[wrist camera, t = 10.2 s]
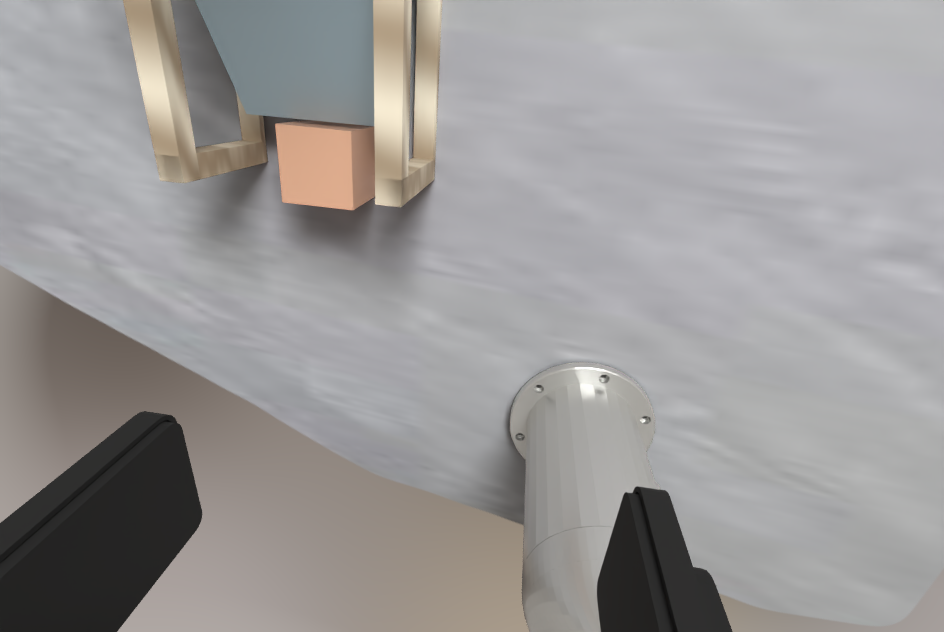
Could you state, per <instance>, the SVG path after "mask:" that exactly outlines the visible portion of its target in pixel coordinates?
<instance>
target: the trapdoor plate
mask: <svg viewBox="0 0 944 632" xmlns="http://www.w3.org/2000/svg"><path fill="white" fill-rule="evenodd" d="M195 2H196V4H197V6H198V8H199V10H200V13H201V15H202V17H203V19H204V21H205V24H206V26H207V28H208V30H209V32H210V35H211V37H212V39H213V41H214V43H215V46H216V48H217V50H218V52H219V54H220V57H221V59H222V61H223V63H224V65H225V68H226V70H227V72H228V74H229V76H230V79H231V81H232V83H233V85H234V87H235V90H236V92H237V94H238V96H239V99H240V101H241V103H242V105H243V107H244V110H245V112H246V114H252V115H262V116H272V117H283V118H293V119H303V120H314V121H324V122H334V123H344V124H355V125H365V126H374V36H373V0H195Z"/></svg>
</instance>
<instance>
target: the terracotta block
mask: <svg viewBox="0 0 944 632" xmlns="http://www.w3.org/2000/svg"><path fill="white" fill-rule="evenodd" d="M275 128H276V139H277V150H278V160H279V171H280V182H281V192H282V202H284V203H293V204H302V205H311V206H320V207H328V208H337V209H346V210H355V209H356V208H358V207H359V206H361V205H363V204H364V203H366V202H367V201H369V200H371V199H372V198H374V197H375V133H374V126H365V125H355V124H344V123H334V122H324V121H314V120H304V121H295V122H286V123H276V124H275Z"/></svg>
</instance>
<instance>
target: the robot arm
mask: <svg viewBox="0 0 944 632" xmlns="http://www.w3.org/2000/svg"><path fill="white" fill-rule="evenodd" d="M510 433H511V437H512V440H513V442H514V444H515V447H516V449H517V450H518V452H519V453H520V454H521V456H522V457H523V458H524V459H525V460H526V477H525V509H524V541H523V543H524V544H523V573H522V604H523V609H524V616H525V619H526V622H527V625H528V628H529V631H530V632H732V629H731V626H730V624H729V621H728V618H727V615H726V613H725V610H724V607H723V604H722V602H721V599H720V596H719V593H718V591H717V588H716V585H715V583H714V581H713V579H712V577H711V575H710V574H709V573H708V572H707V570H704V569H701V568H695V567H693V566H692V563H691V560H690V556H689V553H688V550H687V547H686V544H685V541H684V538H683V535H682V532H681V529H680V526H679V523H678V520H677V517H676V514H675V511H674V508H673V505H672V502H671V499H670V496H669V494H668V492H667V491H665V490H660V486H659V485H658V484H657V483H656V482H655V480H654V476H653V473H652V470H651V466H650V463H649V460H648V457H647V453H646V452H647V450H648V449H649V447H650V445H651V443H652V440H653V437H654V434H655V417H654V412H653V408H652V406H651V403H650V401H649V398H648V397H647V395H646V394H645V392H644V390H643V389H642V388H641V387H640V386H639V385H638V384H637V383H636V382H635V381H634V380H633V379H632V378H630V377H629V376H627V375H626V374H624V373H623V372H621V371H619V370H616V369H614V368H612V367H609V366H605V365H601V364H597V363H587V362H577V363H566V364H562V365H558V366H554V367H552V368H549V369H547V370H545V371H543V372H541V373H539V374H538V375H536V376H535V377H533V378H532V379H530V380H529V381H528V382H527V383H526V384H525V385H524V386H523V387H522V388H521V390H520V391H519V393H518V394H517V396H516V397H515V400H514V402H513V405H512V408H511V415H510ZM201 518H202V509H201V505H200V502H199V497H198V493H197V488H196V485H195V480H194V476H193V472H192V468H191V463H190V459H189V456H188V451H187V447H186V443H185V438H184V434H183V430H182V427H181V425H180V424H178V423H177V421H176V419H175V418H174V417H173V416H171V415H166V414H159V413H153V412H146V411H144V412H140V413H138V414H137V415H135V416H134V417H133V418H132V419H130V420H129V421H128V422H126V423H125V424H124V425H123V426H121V427H120V428H119V429H118V430H116V431H115V432H114V433H113V434H111V435H110V436H109V437H107V438H106V439H105V440H104V441H103V442H101V443H100V444H99V445H98V446H96V447H95V448H94V449H92V450H91V451H90V452H89V453H88V454H86V455H85V456H84V457H82V458H81V459H80V460H79V461H78V462H77V463H75V464H74V465H72V466H71V467H70V468H69V469H67V470H66V471H65V472H64V473H63V474H61V475H60V476H59V477H58V478H56V479H55V480H54V481H52V482H51V483H50V484H49V485H47V486H46V487H45V488H44V489H42V490H41V491H40V492H39V493H37V494H36V495H35V496H34V497H33V498H31V499H30V500H29V501H28V502H26V503H25V504H24V505H22V506H21V507H20V508H19V509H17V510H16V511H15V512H14V513H12V514H11V515H10V516H9V517H7V518H6V519H5V520H4V521H3V522H1V523H0V632H117V631H118V630H119V628H120V627H121V626H122V625H123V623H124V622H125V621H126V619H127V618H128V617H129V616H130V614H131V613H132V612H133V610H134V609H135V608H136V607H137V605H138V604H139V603H140V602H141V600H142V599H143V598H144V596H145V595H146V594H147V593H148V591H149V590H150V589H151V588H152V586H153V585H154V584H155V582H156V581H157V580H158V578H159V577H160V576H161V574H162V573H163V572H164V571H165V570H166V568H167V567H168V566H169V564H170V563H171V562H172V561H173V559H174V558H175V557H176V555H177V554H178V553H179V552H180V550H181V549H182V548H183V547H184V545H185V544H186V543H187V541H188V540H189V539H190V538H191V536H192V535H193V534H194V533H195V531H196V530H197V528H198V527H199V524H200V522H201Z"/></svg>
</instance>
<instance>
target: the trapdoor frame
mask: <svg viewBox="0 0 944 632" xmlns="http://www.w3.org/2000/svg"><path fill="white" fill-rule="evenodd" d="M123 2H124V7H125V12H126V17H127V22H128V27H129V32H130V36H131V41H132V46H133V51H134V56H135V61H136V66H137V70H138V75H139V80H140V85H141V90H142V95H143V100H144V104H145V109H146V114H147V119H148V124H149V129H150V134H151V138H152V143H153V148H154V153H155V158H156V163H157V168H158V172H159V177H160V181H168V182H177V183H188V182H191V181H195V180H199V179H203V178H207V177H211V176H215V175H219V174H223V173H227V172H231V171H235V170H239V169H243V168H247V167H251V166H255V165H259V164H262V163H266V162H268V158H267V149H266V139H265V130H264V121H263V116H262V115H252V114H246V112H245V110H244V107H243V105H242V103H241V101H240V99H239V96H238V94H237V92H236V94H237V102H238V110H239V118H240V126H241V134H242V140H240V141H234V142H228V143H221V144H215V145H209V146H202V147H196V148H195V142H194V136H193V130H192V125H191V119H190V113H189V107H188V101H187V95H186V89H185V83H184V77H183V71H182V65H181V59H180V53H179V48H178V42H177V36H176V30H175V24H174V18H173V12H172V6H171V0H123ZM411 12H412V0H373V36H374V133H375V204H376V205H385V206H394V207H402V206H403V205H405V204H406V203H407V202H408V201H409V200H411V199H412V198H413V197H414V196H415V195H417V194H418V193H419V192H420V191H421V190H423V189H424V188H425V187H426V186H427V185H429V184H430V183H431V182H432V181H433V180H434V177H435V154H436V131H437V108H438V85H439V62H440V40H441V17H442V0H417V23H416V65H415V106H414V148H413V158H412V159H410V160H409V112H410V62H411Z"/></svg>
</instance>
